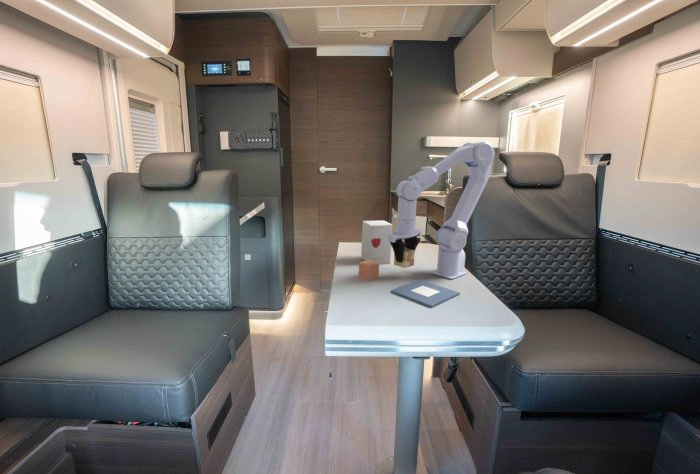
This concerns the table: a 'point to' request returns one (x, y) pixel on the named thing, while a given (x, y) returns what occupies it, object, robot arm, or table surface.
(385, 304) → the table surface
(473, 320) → the table surface
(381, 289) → the table surface
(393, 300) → the table surface
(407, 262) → the oak block
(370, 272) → the terracotta block
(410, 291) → the board
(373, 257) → the supplement box
